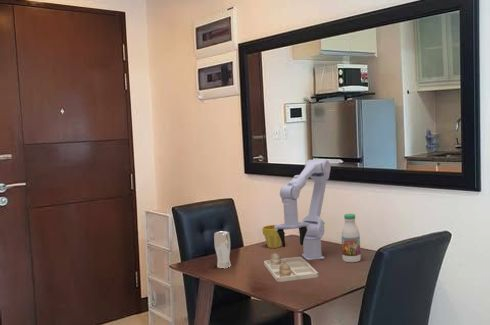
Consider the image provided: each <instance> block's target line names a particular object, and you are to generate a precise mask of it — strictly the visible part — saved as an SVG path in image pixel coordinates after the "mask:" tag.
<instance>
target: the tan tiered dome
mask: <svg viewBox="0 0 490 325" xmlns="http://www.w3.org/2000/svg"><path fill="white" fill-rule="evenodd" d="M279 272H280V277H286V276H291V269H290V266H289V265H288V264H286V263H284V264H282V265H281V266H280V268H279Z"/></svg>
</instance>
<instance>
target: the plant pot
mask: <svg viewBox="0 0 490 325" xmlns="http://www.w3.org/2000/svg"><path fill="white" fill-rule="evenodd" d="M274 225H275V224H269V225H268V224H267V225H265V226H262V235H263V236H264V238H265V243H266V245H267V248H270V249H277V248H280V247H282V242H281V239H280V236H279V234H278V233H277V231H275V230H274ZM283 231H284V232H285V230H283Z"/></svg>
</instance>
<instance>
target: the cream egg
mask: <svg viewBox="0 0 490 325" xmlns="http://www.w3.org/2000/svg"><path fill="white" fill-rule="evenodd" d="M281 259H282V257H281V255H280V254H279V253H277V252H274V253H272V254H271V255H270V259H269V260H271V266H272V265H281Z"/></svg>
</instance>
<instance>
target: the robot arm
mask: <svg viewBox="0 0 490 325" xmlns="http://www.w3.org/2000/svg"><path fill="white" fill-rule="evenodd" d="M330 173H331V164H330V161H329V160H328V159H308V160H307V161H306V162H305V164H304V168H303V170H302V171H301V172H300V174H296V175H294V176H293V178H292V179H291V180H290V181H289V182H288V183H287V184H285V185H283V186H281V188H280V190H279V191H280V192H279V197H280V198H281V203H282V204H283V220H284V223H281V224H273V225H274V230H275V231H277V233H278V234H279V236H280V239H281V247H282V248H286V241H285V234H286V233H285V230H293V229H294V230H295V229H298V233H299V244H300V245H301V246H302V247H303V248H302V250H303V253H302V254H301V257H302V258H303V259H304V260H305V261H309V260H317V259H318V260H324V259H325V256H323V254H322V241H321V239H322V238H323V236H324V235H325V221H324V220H323V219H322V218H321V214H322V213H321V212H322V207H323V204H324V203H323V201H324V197H325V193H326V186H327V182H328V180H329V179H330ZM309 178H310V179H311V180H313V182H314V184H313V190H312V194H311V201H310V205H309V210H308V215H307V216H305V217H303V219H302V222H300V221H299V215H298V214H299V213H298V212H299V211H298V199H299V198H300V193H301V190H302V189H303V188H304V187H305V186H306V184H307V180H308V179H309ZM283 230H284V231H283Z"/></svg>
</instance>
